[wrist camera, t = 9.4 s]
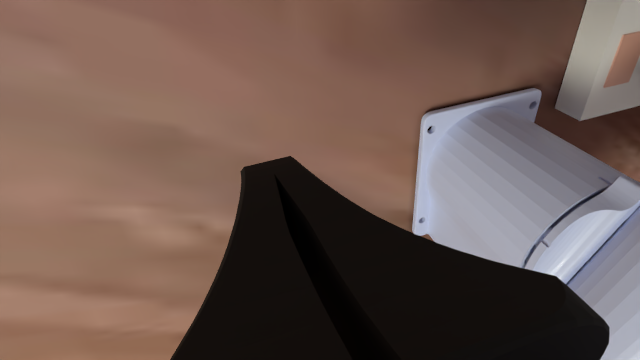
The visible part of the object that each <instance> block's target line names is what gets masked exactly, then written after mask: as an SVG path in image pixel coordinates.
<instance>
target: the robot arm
mask: <svg viewBox="0 0 640 360" xmlns="http://www.w3.org/2000/svg"><path fill="white" fill-rule="evenodd" d="M541 94H542V93H541V91H540V90H539V89H536V88H530V89H526V90H522V91H517V92H513V93H509V94H504V95H500V96H495V97H491V98H487V99H482V100H478V101H474V102H469V103H465V104H461V105H456V106H452V107H447V108H443V109H439V110H434V111H430V112H428V113H426V114H425V115H424V116H423V118H422V120H421V130H420V142H419V154H418V166H417V178H416V190H415V202H414V214H413V226H412V232H413V233H414V234H413V233H411V232H409V231H406V230H404V229H402V228H400V227H397V226H395V225H393V224H391V223H389V222H387V221H385V220H383V219H381V218H379V217H377V216H375V215H373V214H372V213H370V212H368V211H366V210H365V209H363V208H361V207H360V206H358V205H356V204H355V203H353V202H351V201H350V200H348V199H347V198H345V197H344V196H342V195H341V194H339V193H338V192H337V191H335V190H334V189H332V188H331V187H330V186H328V185H327V184H325V183H324V182H323V181H321V180H320V179H319V178H317V177H316V176H315V175H314V174H312V173H311V172H310V171H309V170H307V169H306V168H305V167H304V166H302V165H301V164H300V163H299V162H298V161H297V160H295V159H294V158H292V157H291V156H288V157H284V158H280V159H276V160H272V161H267V162H263V163H259V164H255V165H250V166H246V167H244V168H243V169H242V170H241V192H240V200H239V204H238V209H237V214H236V219H235V223H234V226H233V229H232V233H231V236H230V239H229V243H228V246H227V249H226V252H225V254H224V257H223V260H222V262H221V265H220V267H219V270H218V272H217V274H216V277H215V279H214V281H213V283H212V285H211V288H210V290H209V292H208V294H207V296H206V298H205V300H204V302H203V304H202V306H201V308H200V310H199V312H198V314H197V315H196V317H195V319H194V321H193V323H192V324H191V326H190V328H189V329H188V331H187V333H186V334H185V336H184V338H183V339H182V341H181V343H180V344H179V346H178V348H177V349H176V351H175V353H174V354H173V356H172V358H171V359H170V360H640V182H638V181H635V180H633V179H632V178H630V177H628V176H626V175H625V174H623V173H621V172H619V171H618V170H616V169H614V168H612V167H611V166H609V165H607V164H605V163H604V162H602V161H600V160H598V159H597V158H595V157H593V156H591V155H590V154H588V153H586V152H584V151H583V150H581V149H579V148H577V147H576V146H574V145H572V144H570V143H569V142H567V141H565V140H563V139H561V138H560V137H558V136H556V135H554V134H553V133H551V132H549V131H547V130H546V129H544V128H542V127H540V126H539V125H537V124H535V123H534V121H535V117H536V114H537V110H538V106H539V103H540V99H541ZM530 104H531V105H530ZM430 126H432V127H431V129H430V130H428V128H429V127H430ZM427 130H428V131H427ZM425 234H429V235H430V237H431V238H432V239H433V240H434V241H431V240H428V239H426V238H423V237H421V235H425Z"/></svg>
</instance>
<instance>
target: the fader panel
mask: <svg viewBox="0 0 640 360" xmlns="http://www.w3.org/2000/svg"><path fill="white" fill-rule="evenodd" d="M636 106H640V0H587V2H586V6H585V9H584V12H583V16H582V19H581V22H580V25H579V29H578V32H577V35H576V39H575V42H574V45H573V49H572V52H571V55H570V59H569V62H568V65H567V68H566V72H565V75H564V78H563V82H562V85H561V88H560V92H559V95H558V98H557V102H556V105H555V109H557V110H559V111H561V112H563V113H565V114H567V115H569V116H571V117H573V118H575V119H577V120H579V121H582V120H586V119H590V118H594V117H598V116H601V115H605V114H609V113H613V112H617V111H621V110H625V109H629V108H633V107H636Z"/></svg>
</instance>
